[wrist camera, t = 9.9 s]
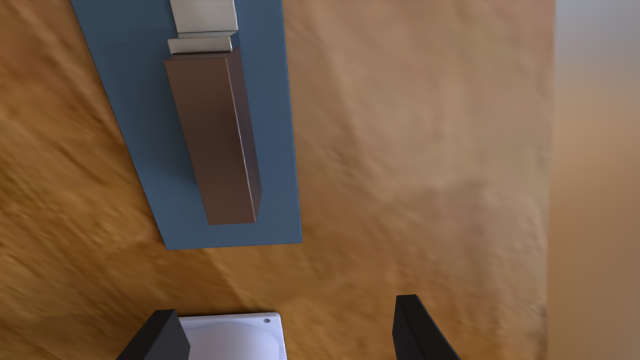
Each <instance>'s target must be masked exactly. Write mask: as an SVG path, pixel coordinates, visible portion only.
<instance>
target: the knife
mask: <svg viewBox="0 0 640 360" xmlns="http://www.w3.org/2000/svg"><path fill="white" fill-rule="evenodd" d="M170 3H171V7H172V11H173V15H174V19H175V23H176V27H177V31H178V33H180V34H177V35H175V36H173V37H170V38H168V39H167V41H168V45H169V49H170V53H171V54H174V55H172V56H170V57H169V58H167V59H165V60H164V61H163V62H164V66H165V69H166V73H167V76H168V80H169V84H170V87H171V91H172V94H173V98H174V102H175V105H176V109H177V112H178V116H179V119H180V123H181V127H182V130H183V134H184V137H185V141H186V145H187V148H188V152H189V155H190V159H191V162H192V166H193V170H194V173H195V177H196V180H197V184H198V188H199V191H200V195H201V198H202V202H203V205H204V209H205V213H206V216H207V220H208V223H209V225H227V224H247V223H256V221H257V216H258V211H259V206H260V201H261V196H262V187H261V180H260V174H259V167H258V161H257V155H256V148H255V142H254V135H253V129H252V123H251V116H250V110H249V104H248V97H247V91H246V84H245V78H244V72H243V65H242V59H241V52H240V46H239V44H240V39H239V32H238V30H239V24H238V17H237V10H236V4H235V0H170Z"/></svg>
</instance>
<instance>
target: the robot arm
mask: <svg viewBox="0 0 640 360" xmlns="http://www.w3.org/2000/svg"><path fill="white" fill-rule="evenodd" d="M392 335H393V341H394V346H395V352H396V357H397V360H461V359H460V358H459V356H458V355H457V353H456V352H455V351H454V349H453V348H452V347H451V345H450V344H449V343H448V341H447V340H446V338H445V337H444V336H443V334H442V333H441V331H440V330H439V328H438V327H437V325H436V324H435V322H434V321H433V319H432V318H431V316H430V315H429V313H428V312H427V310H426V308H425V307H424V305H423V304H422V302H421V300H420V299H419V297H418V296H417V295H416V294H414V295H398V296H397V297H396V306H395V314H394V323H393V331H392ZM116 360H287V356H286V350H285V344H284V337H283V331H282V325H281V319H280V315H279V314H278V313H276V312H268V313H249V314H231V315H213V316H194V317H178V316H177V314H176V311H175V309H171V310H156V311H155V312H154V313H153V314H152V315H151V316H150V318H149V319H148V320H147V321H146V323H145V324H144V325H143V326H142V328H141V329H140V330H139V331H138V333H137V334H136V335H135V336H134V338H133V339H132V340H131V341H130V343H129V344H128V345H127V346H126V348H125V349H124V350H123V351H122V353H121V354H120V355H119V356H118V357H117V359H116Z"/></svg>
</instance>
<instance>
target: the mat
mask: <svg viewBox="0 0 640 360" xmlns="http://www.w3.org/2000/svg"><path fill="white" fill-rule="evenodd" d="M70 1H71V4H72V6H73V9H74V11H75V14H76V17H77V19H78V22H79V24H80V27H81V29H82V32H83V35H84V37H85V40H86V42H87V45H88V48H89V50H90V53H91V55H92V58H93V60H94V63H95V66H96V68H97V71H98V73H99V76H100V78H101V81H102V84H103V86H104V89H105V91H106V94H107V97H108V99H109V102H110V104H111V107H112V109H113V112H114V115H115V117H116V120H117V122H118V125H119V128H120V130H121V133H122V135H123V138H124V140H125V143H126V146H127V148H128V151H129V153H130V156H131V158H132V161H133V164H134V166H135V169H136V171H137V174H138V177H139V179H140V182H141V184H142V187H143V189H144V192H145V195H146V197H147V200H148V202H149V205H150V208H151V210H152V213H153V215H154V218H155V220H156V223H157V226H158V228H159V231H160V233H161V236H162V238H163V241H164V244H165V246H166V249H167V250H176V249H195V248H214V247H234V246H253V245H272V244H291V243H302V229H301V218H300V206H299V194H298V183H297V171H296V159H295V148H294V136H293V125H292V113H291V101H290V90H289V78H288V66H287V55H286V43H285V32H284V20H283V8H282V0H235V4H236V10H237V17H238V24H239V30H238V32H239V39H240V44H239V46H240V52H241V59H242V65H243V72H244V78H245V84H246V91H247V97H248V104H249V110H250V116H251V123H252V129H253V135H254V142H255V148H256V155H257V161H258V167H259V174H260V180H261V187H262V196H261V201H260V206H259V211H258V216H257V221H256V223H247V224H227V225H209V223H208V220H207V216H206V213H205V209H204V205H203V202H202V198H201V195H200V191H199V188H198V184H197V180H196V177H195V173H194V170H193V166H192V162H191V159H190V155H189V152H188V148H187V145H186V141H185V137H184V134H183V130H182V127H181V123H180V119H179V116H178V112H177V109H176V105H175V102H174V98H173V94H172V91H171V87H170V84H169V80H168V76H167V73H166V69H165V66H164V62H163V61H164V60H165V59H167V58H169V57H170V56H172V55H174V54H171V53H170V49H169V45H168V41H167V39H168V38H170V37H173V36H175V35H177V34H180V33H178V31H177V27H176V23H175V19H174V15H173V11H172V7H171V3H170V0H70Z"/></svg>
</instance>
